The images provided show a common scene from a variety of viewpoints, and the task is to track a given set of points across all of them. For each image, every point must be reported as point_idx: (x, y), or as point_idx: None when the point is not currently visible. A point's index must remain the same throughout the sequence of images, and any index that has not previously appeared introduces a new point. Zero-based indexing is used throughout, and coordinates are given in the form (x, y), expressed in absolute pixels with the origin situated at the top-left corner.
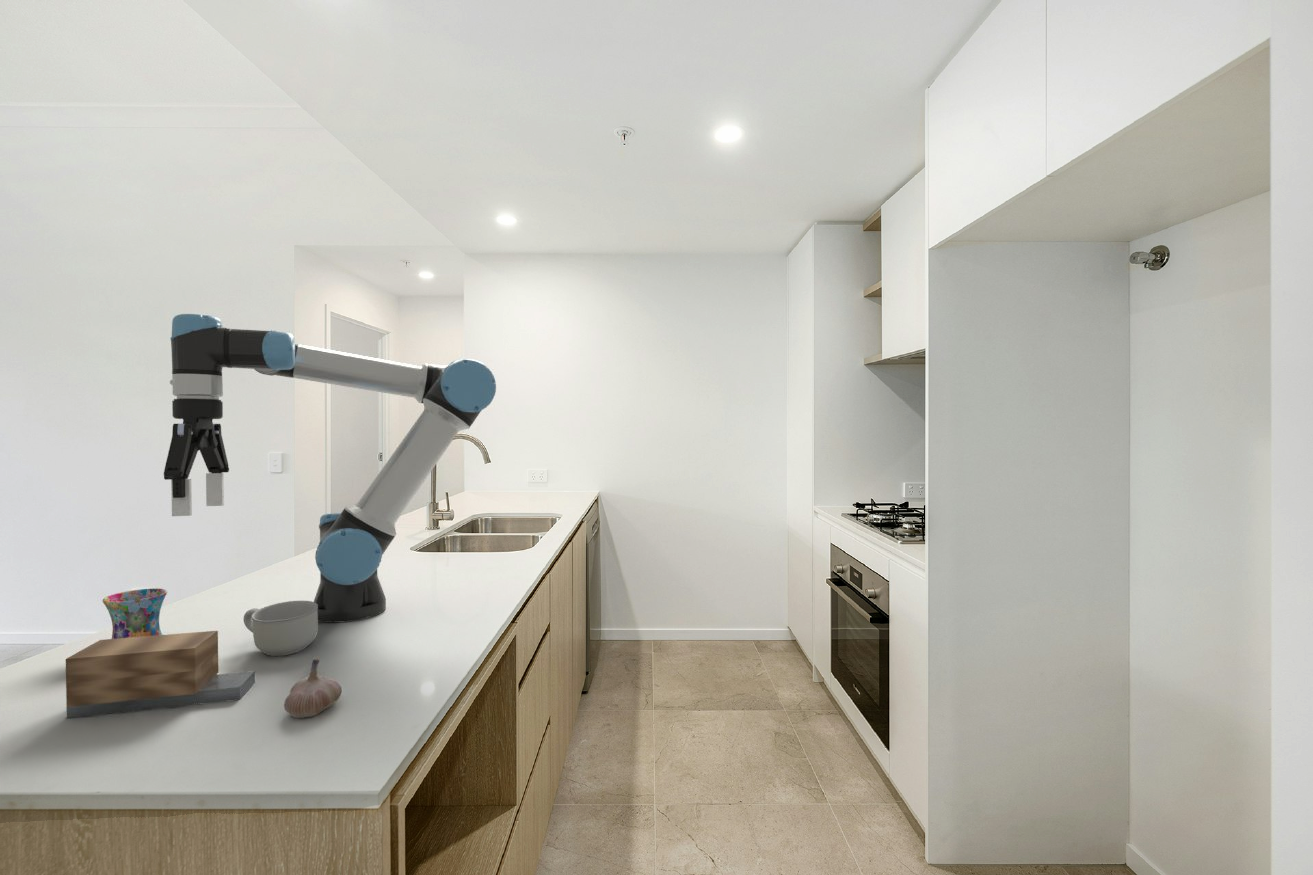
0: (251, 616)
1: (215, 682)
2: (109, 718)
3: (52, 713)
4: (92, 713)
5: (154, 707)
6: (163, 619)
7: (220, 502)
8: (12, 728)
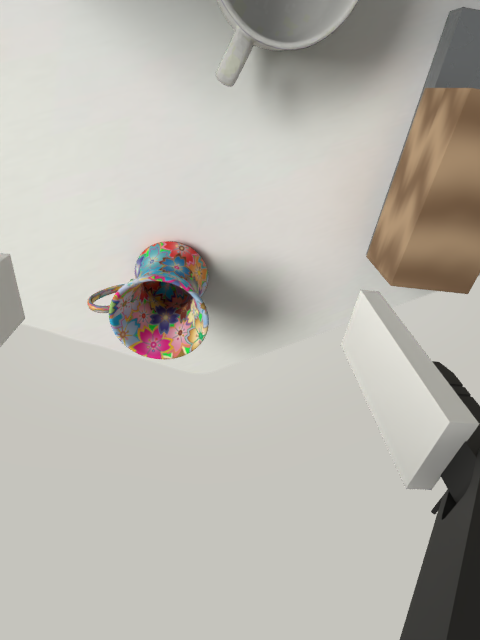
0: (299, 48)
1: (477, 79)
2: None
3: None
4: None
5: None
6: None
7: (3, 269)
8: (410, 300)
